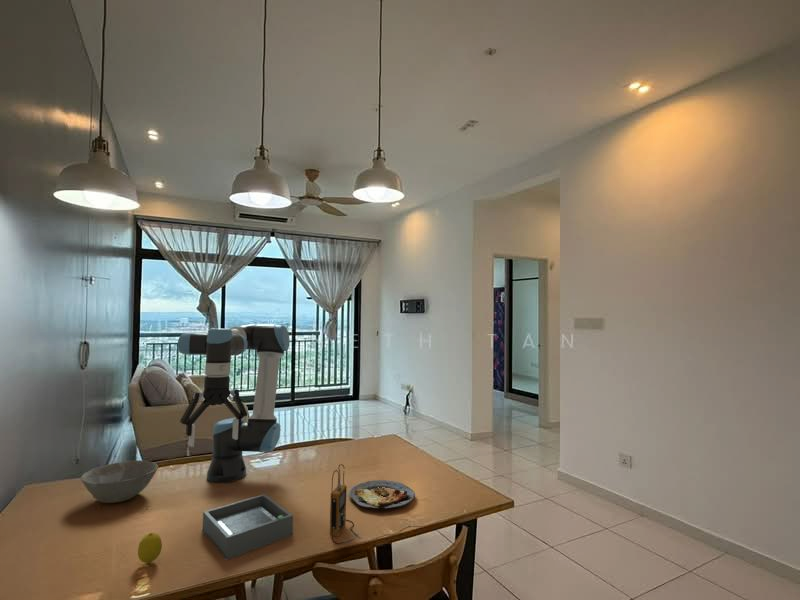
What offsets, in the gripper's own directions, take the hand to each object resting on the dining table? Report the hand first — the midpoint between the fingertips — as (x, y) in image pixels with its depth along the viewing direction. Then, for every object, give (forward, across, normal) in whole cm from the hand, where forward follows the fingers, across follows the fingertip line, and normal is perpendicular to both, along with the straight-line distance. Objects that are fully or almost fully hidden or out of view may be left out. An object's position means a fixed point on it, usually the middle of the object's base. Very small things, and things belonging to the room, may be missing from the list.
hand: (213, 442), depth 131 cm
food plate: (+26, +55, -20) cm, 64 cm away
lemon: (+27, -19, -9) cm, 34 cm away
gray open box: (+26, +7, -12) cm, 30 cm away
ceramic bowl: (+26, -17, +42) cm, 52 cm away
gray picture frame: (+23, +7, -12) cm, 27 cm away
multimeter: (+26, +31, -32) cm, 52 cm away
